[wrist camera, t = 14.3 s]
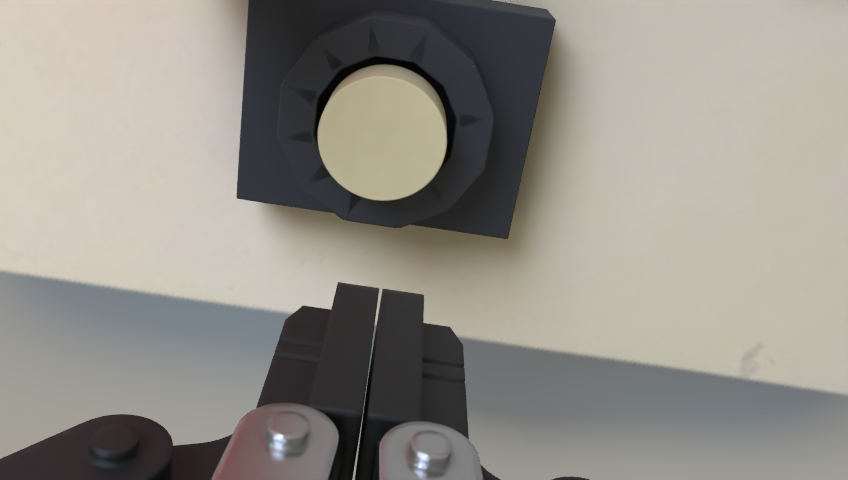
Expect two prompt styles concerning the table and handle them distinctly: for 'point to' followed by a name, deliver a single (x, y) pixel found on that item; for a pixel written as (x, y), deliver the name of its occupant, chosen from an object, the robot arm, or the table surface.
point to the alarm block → (412, 49)
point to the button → (383, 133)
